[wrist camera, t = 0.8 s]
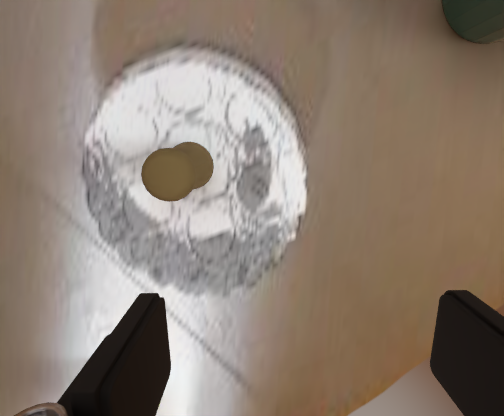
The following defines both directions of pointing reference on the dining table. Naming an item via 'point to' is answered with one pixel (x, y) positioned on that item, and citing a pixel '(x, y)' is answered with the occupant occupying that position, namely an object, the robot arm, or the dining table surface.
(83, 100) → the dining table surface
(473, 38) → the jar
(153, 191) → the olive pawn
